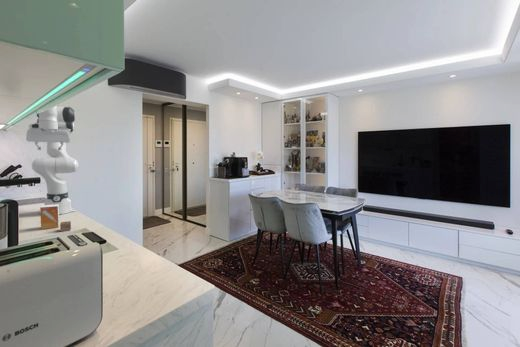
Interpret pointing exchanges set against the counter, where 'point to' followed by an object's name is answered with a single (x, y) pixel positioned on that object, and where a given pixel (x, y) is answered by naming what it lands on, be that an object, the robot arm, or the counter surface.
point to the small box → (49, 216)
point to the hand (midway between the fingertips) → (49, 150)
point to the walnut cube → (65, 226)
